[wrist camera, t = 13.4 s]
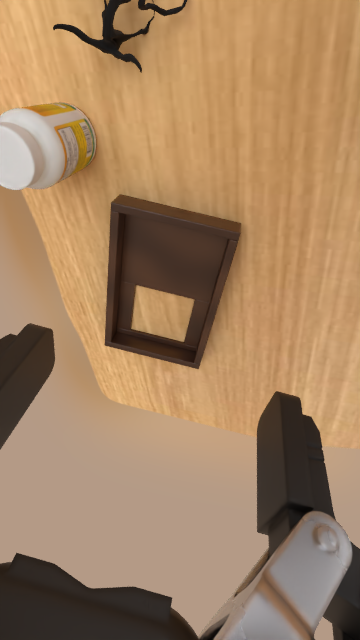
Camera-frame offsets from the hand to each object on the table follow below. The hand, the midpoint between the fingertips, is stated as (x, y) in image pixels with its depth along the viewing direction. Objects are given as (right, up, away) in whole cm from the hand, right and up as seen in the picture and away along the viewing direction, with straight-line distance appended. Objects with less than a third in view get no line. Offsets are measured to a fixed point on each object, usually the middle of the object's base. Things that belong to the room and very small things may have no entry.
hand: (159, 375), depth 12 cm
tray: (-1, +6, +25) cm, 26 cm away
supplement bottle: (-9, +18, +18) cm, 27 cm away
